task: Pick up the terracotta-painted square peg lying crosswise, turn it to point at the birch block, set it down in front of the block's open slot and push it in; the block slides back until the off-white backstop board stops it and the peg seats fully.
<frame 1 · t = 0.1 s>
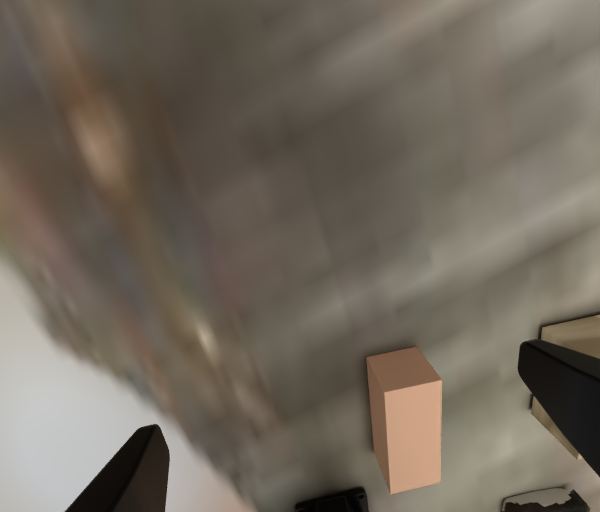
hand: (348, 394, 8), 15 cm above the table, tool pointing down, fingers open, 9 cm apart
peg: (392, 400, 29), on the table
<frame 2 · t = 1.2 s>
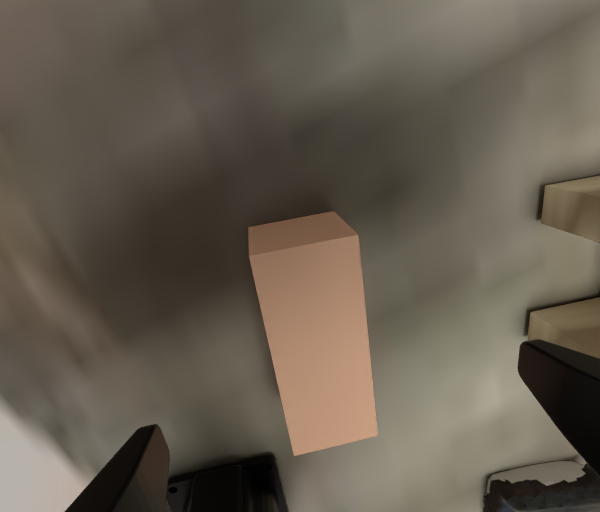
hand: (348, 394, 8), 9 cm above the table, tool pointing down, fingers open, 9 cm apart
peg: (306, 310, 18), on the table
statue: (541, 496, 26), on the table
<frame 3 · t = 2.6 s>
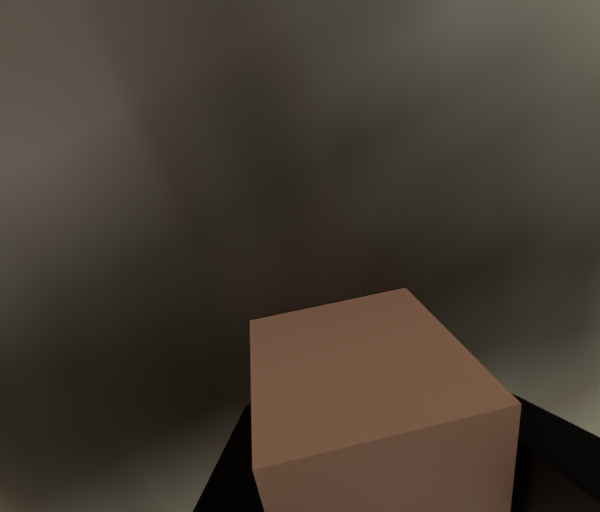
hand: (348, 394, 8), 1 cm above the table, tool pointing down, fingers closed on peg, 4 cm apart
peg: (349, 447, 10), on the table, touching gripper
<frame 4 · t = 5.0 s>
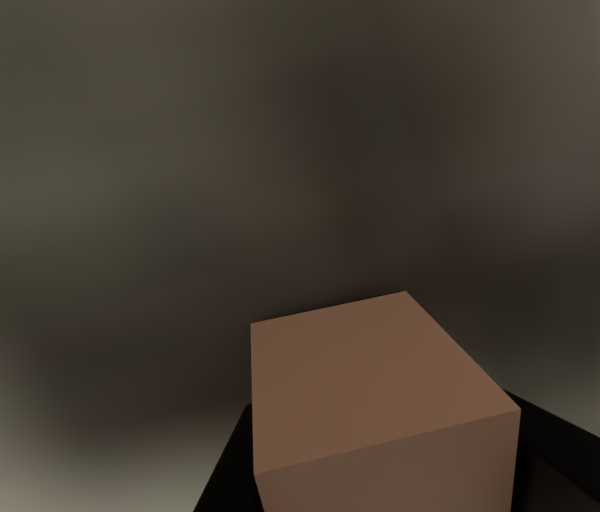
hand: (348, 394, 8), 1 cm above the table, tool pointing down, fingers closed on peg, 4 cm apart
peg: (349, 450, 11), on the table, touching gripper
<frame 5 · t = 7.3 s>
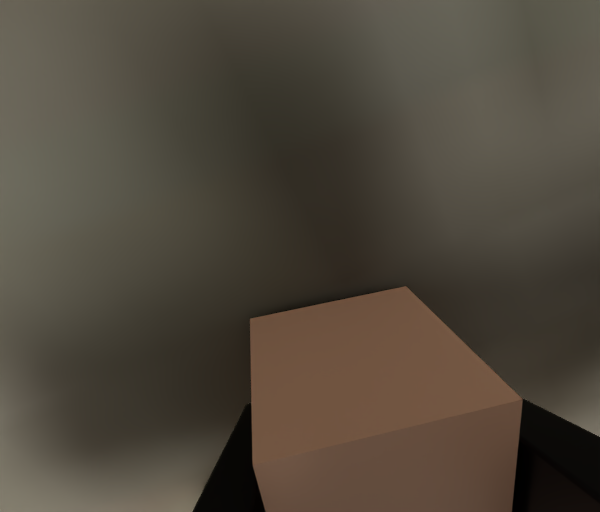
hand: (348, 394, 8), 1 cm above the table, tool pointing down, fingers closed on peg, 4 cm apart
peg: (349, 448, 10), on the table, touching block, gripper
when the fingers open (1 cm above the table, at t = 7.6 s): peg stays where it is, on the table.
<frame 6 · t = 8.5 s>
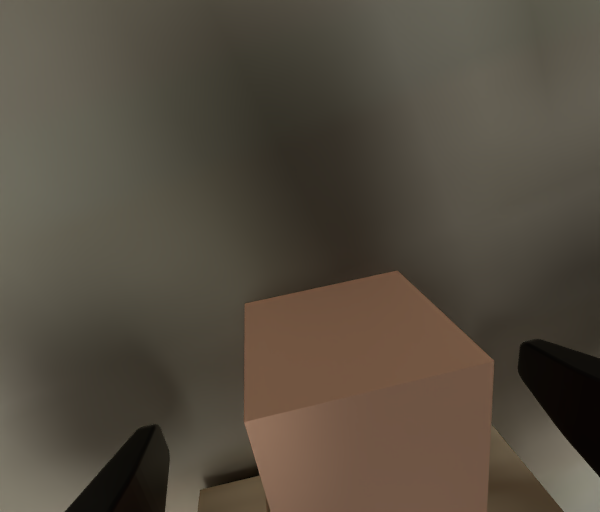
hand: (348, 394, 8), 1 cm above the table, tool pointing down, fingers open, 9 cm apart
peg: (343, 425, 11), on the table
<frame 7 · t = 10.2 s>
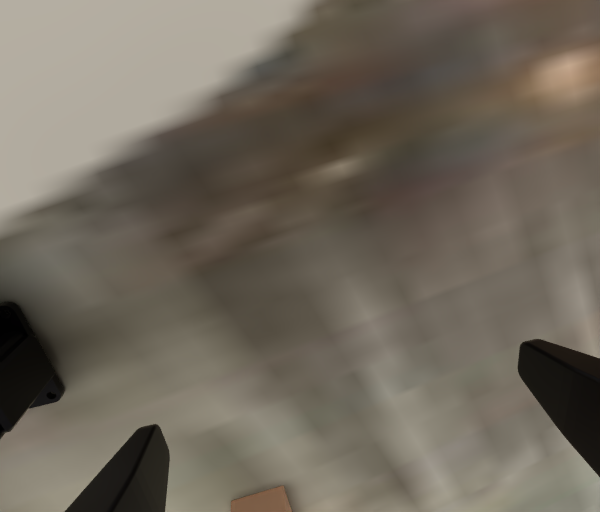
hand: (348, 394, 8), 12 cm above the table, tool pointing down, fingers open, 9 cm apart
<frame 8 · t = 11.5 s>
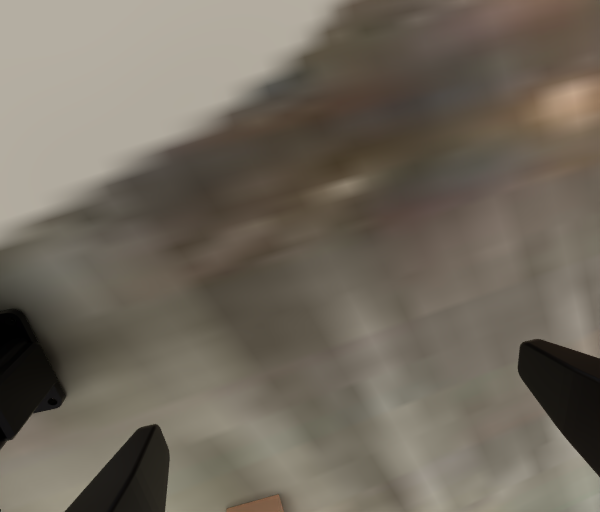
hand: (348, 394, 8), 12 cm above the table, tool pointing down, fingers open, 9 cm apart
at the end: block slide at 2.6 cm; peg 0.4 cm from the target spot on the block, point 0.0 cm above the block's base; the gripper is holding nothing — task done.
